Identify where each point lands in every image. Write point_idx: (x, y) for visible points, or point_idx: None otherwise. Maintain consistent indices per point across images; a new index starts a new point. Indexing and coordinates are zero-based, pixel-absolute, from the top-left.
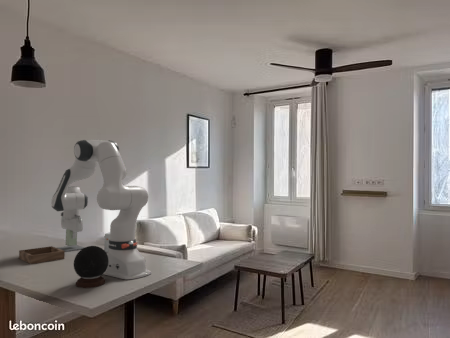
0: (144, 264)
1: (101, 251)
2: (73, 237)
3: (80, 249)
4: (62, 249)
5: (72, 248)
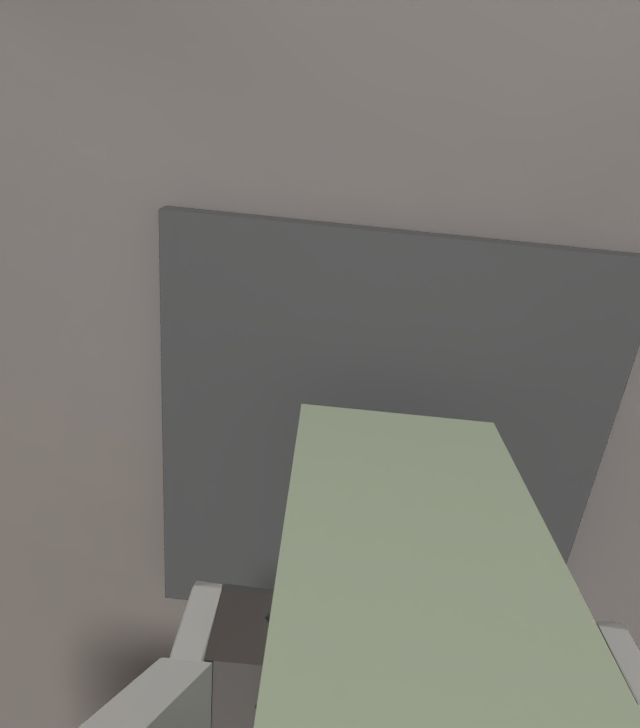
0: None
1: None
2: None
3: (617, 377)
4: None
5: None
